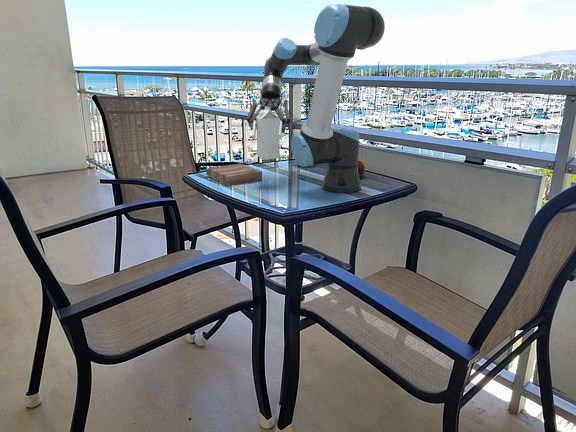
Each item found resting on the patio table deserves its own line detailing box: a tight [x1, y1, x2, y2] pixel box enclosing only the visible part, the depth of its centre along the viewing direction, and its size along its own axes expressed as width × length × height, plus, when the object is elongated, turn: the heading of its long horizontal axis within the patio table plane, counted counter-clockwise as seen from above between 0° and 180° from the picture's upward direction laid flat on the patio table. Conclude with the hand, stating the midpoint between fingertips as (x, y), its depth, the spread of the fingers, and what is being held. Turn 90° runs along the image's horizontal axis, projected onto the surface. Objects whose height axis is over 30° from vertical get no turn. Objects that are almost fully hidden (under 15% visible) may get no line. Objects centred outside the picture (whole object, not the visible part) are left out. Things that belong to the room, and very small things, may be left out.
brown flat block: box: [206, 163, 263, 187], centre depth 177 cm, size 20×16×4 cm
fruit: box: [358, 158, 366, 178], centre depth 179 cm, size 9×10×10 cm
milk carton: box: [256, 106, 281, 160], centre depth 158 cm, size 7×7×19 cm
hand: (266, 136), depth 155 cm, fingers closed on milk carton, 9 cm apart
